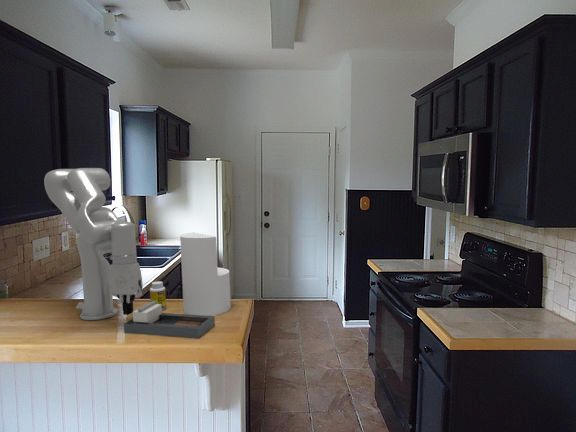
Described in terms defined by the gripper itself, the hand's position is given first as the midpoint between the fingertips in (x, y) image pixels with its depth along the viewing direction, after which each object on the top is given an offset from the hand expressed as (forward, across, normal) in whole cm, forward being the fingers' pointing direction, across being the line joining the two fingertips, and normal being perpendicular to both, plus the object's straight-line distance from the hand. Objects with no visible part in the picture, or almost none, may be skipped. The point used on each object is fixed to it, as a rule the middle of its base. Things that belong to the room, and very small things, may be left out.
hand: (128, 313), depth 144 cm
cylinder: (+4, +18, +22) cm, 29 cm away
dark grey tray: (+4, +15, 0) cm, 16 cm away
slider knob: (+2, +7, 0) cm, 8 cm away
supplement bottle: (+4, 0, +18) cm, 19 cm away
